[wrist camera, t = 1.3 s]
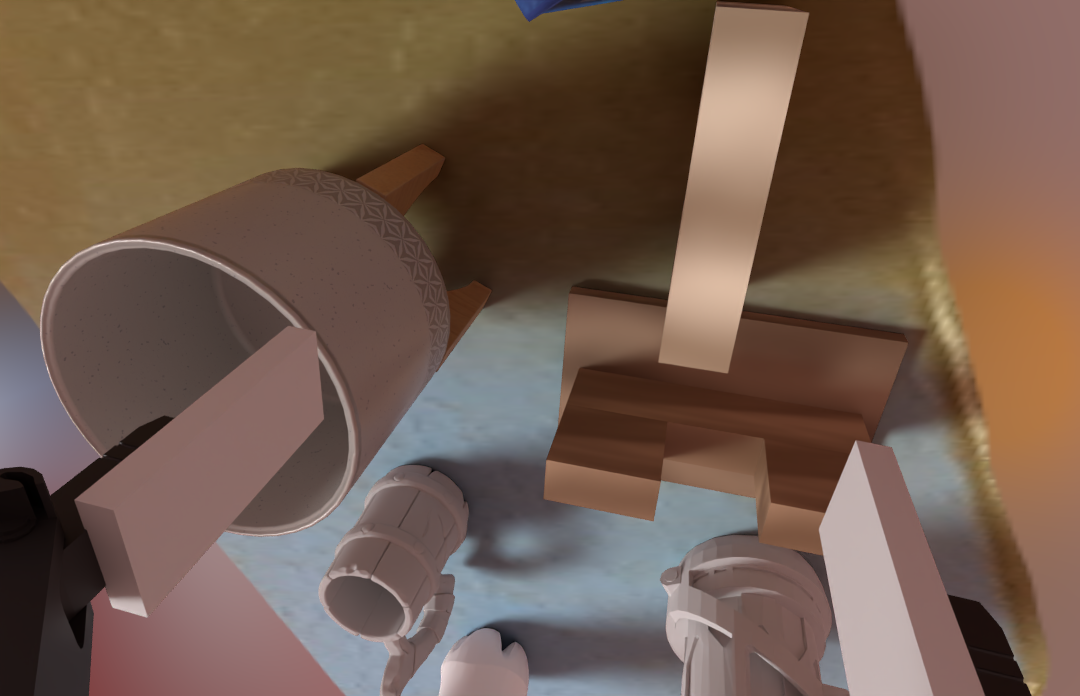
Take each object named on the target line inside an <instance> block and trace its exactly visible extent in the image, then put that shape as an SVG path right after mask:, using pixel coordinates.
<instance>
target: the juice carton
mask: <svg viewBox="0 0 1080 696" xmlns="http://www.w3.org/2000/svg"><path fill="white" fill-rule="evenodd" d="M515 1H516V3H517V5H518V6H519V8H520V10H521V11H522V13H523V15H524V16H525V18H526V19H527V20H528V21H529V22H530V21H531V20H533V19H534V18H536V17H537V16H539V15H541V14H543V13H549V12H555V11H561V10H567V9H573V8H579V7H585V6H591V5H597V4H603V3H609V2H615V1H621V0H515Z"/></svg>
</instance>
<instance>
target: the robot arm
mask: <svg viewBox="0 0 1080 696" xmlns="http://www.w3.org/2000/svg"><path fill="white" fill-rule="evenodd" d="M323 420H324V414H323V403H322V392H321V381H320V371H319V360H318V349H317V338H316V331H312V330H307V329H302V328H297V327H292V326H287V327H286V328H285V329H284V330H282V331H281V332H280V333H279V334H278V335H276V336H275V337H274V338H273V339H271V340H270V341H269V342H268V343H266V344H265V345H264V346H263V347H262V348H260V349H259V350H258V351H257V352H255V353H254V354H253V355H252V356H251V357H249V358H248V359H247V360H246V361H244V362H243V363H242V364H241V365H239V366H238V367H237V368H236V369H235V370H233V371H232V372H231V373H230V374H228V375H227V376H226V377H225V378H224V379H222V380H221V381H220V382H219V383H217V384H216V385H215V386H214V387H212V388H211V389H210V390H209V391H208V392H206V393H205V394H204V395H203V396H201V397H200V398H199V399H198V400H196V401H195V402H194V403H193V404H192V405H190V406H189V407H188V408H187V409H185V410H184V411H183V412H182V413H181V414H179V415H178V416H177V417H176V418H173V417H169V416H162V417H160V418H157V419H155V420H153V421H151V422H148V423H146V424H144V425H142V426H140V427H138V428H137V429H135V430H134V431H133V432H131V433H130V434H129V435H128V436H126V437H125V438H124V439H122V440H121V441H120V442H119V445H118V446H116V445H115V446H113V447H112V448H111V449H110V450H108V451H107V452H106V453H105V454H103V457H102V458H98V459H97V460H96V461H94V462H93V463H92V464H90V465H89V466H88V467H87V468H85V469H84V470H83V471H81V472H80V473H79V474H78V475H76V476H75V477H74V478H73V479H71V480H70V481H69V482H67V483H66V484H65V485H64V486H62V487H61V488H60V489H59V490H57V491H56V492H54V493H53V494H52V495H51V496H50V494H49V491H48V489H47V486H46V483H45V481H44V478H43V476H42V474H41V473H39V472H37V471H36V470H34V469H31V468H25V467H13V468H4V469H0V696H89V682H90V666H91V649H92V633H93V616H94V613H93V609H92V605H91V602H90V601H91V600H92V599H93V598H94V597H95V596H96V595H97V594H98V593H99V592H100V591H101V590H102V589H103V588H104V587H105V588H106V590H107V594H108V596H109V599H110V602H111V605H112V607H113V608H116V609H119V610H123V611H127V612H130V613H133V614H137V615H141V616H144V617H149V616H150V614H151V613H152V612H153V611H154V610H155V609H156V608H157V607H158V605H159V604H160V603H161V602H162V601H163V600H164V599H165V598H166V596H167V595H168V594H169V593H170V592H171V591H172V590H173V589H174V587H175V586H176V585H177V584H178V583H179V582H180V581H181V580H182V578H183V577H184V576H185V575H186V574H187V573H188V572H189V570H190V569H191V568H192V567H193V566H194V565H195V564H196V563H197V562H198V560H199V559H200V558H201V557H202V556H203V555H204V554H205V552H206V551H207V550H208V549H209V548H210V547H211V546H212V544H214V542H215V541H216V540H217V539H218V538H219V537H220V536H221V534H222V533H223V532H224V531H225V530H226V529H227V528H228V527H229V525H230V524H231V523H232V522H233V521H234V520H235V519H236V518H237V516H238V515H239V514H240V513H241V512H242V511H243V510H244V509H245V507H246V506H247V505H248V504H249V503H250V502H251V501H252V500H253V498H254V497H255V496H256V495H257V494H258V493H259V492H260V491H261V489H262V488H263V487H264V486H265V485H266V484H267V483H268V482H269V480H270V479H271V478H272V477H273V476H274V475H275V474H276V473H277V471H278V470H279V469H280V468H281V467H282V466H283V465H284V464H285V462H286V461H287V460H288V459H289V458H290V457H291V456H292V455H293V453H294V452H295V451H296V450H297V449H298V448H299V447H300V445H301V444H302V443H303V442H304V441H305V440H306V439H307V438H308V436H309V435H310V434H311V433H312V432H313V431H314V430H315V429H316V427H317V426H318V425H319V424H320V423H321V422H322V421H323ZM819 533H820V539H821V544H822V549H823V555H824V560H825V565H826V571H827V576H828V581H829V587H830V592H831V597H832V603H833V608H834V613H835V619H836V624H837V630H838V635H839V640H840V646H841V651H842V656H843V662H844V667H845V672H846V678H847V683H848V688H849V694H850V696H1031V693H1030V691H1029V689H1028V687H1027V684H1024V683H1023V679H1024V678H1023V675H1022V673H1021V671H1020V668H1019V666H1018V664H1017V662H1016V661H1014V659H1013V657H1014V655H1013V653H1012V650H1011V648H1010V646H1009V643H1008V641H1007V639H1006V637H1005V634H1004V632H1003V630H1002V628H1001V627H1000V626H999V625H998V623H997V622H996V621H995V620H994V619H993V617H992V616H991V615H990V614H989V613H988V612H987V610H986V609H985V608H984V607H983V606H982V605H981V603H980V602H977V601H973V600H968V599H964V598H960V597H955V596H951V595H947V593H946V590H945V588H944V585H943V582H942V580H941V577H940V574H939V572H938V569H937V566H936V564H935V561H934V558H933V556H932V553H931V550H930V548H929V545H928V542H927V540H926V537H925V534H924V532H923V529H922V526H921V524H920V521H919V518H918V516H917V513H916V510H915V508H914V505H913V502H912V500H911V497H910V494H909V492H908V489H907V486H906V484H905V481H904V479H903V476H902V473H901V471H900V468H899V465H898V463H897V460H896V457H895V455H894V452H893V449H892V447H888V446H883V445H878V444H873V443H868V442H863V441H858V440H856V441H855V443H854V446H853V448H852V450H851V453H850V455H849V458H848V460H847V462H846V465H845V467H844V470H843V472H842V474H841V477H840V479H839V482H838V484H837V486H836V489H835V491H834V494H833V496H832V498H831V501H830V503H829V506H828V508H827V511H826V513H825V515H824V518H823V520H822V523H821V525H820V527H819Z"/></svg>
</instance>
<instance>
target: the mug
mask: <svg viewBox="0 0 1080 696" xmlns="http://www.w3.org/2000/svg"><path fill="white" fill-rule="evenodd" d="M468 516H469V509H468V503H467V501H464V499H463V493H462V491H461V490H460V489H459V487H458V486H456V484H455V483H454V482H453V481H452V480H451V479H450V478H448V477H447V476H446V475H444V474H442V473H440V472H438V471H434V472H432V473H431V468H429V467H426V466H421V465H404V466H400V467H397V468H395V469H393V470H391V471H390V472H389V473H387V475H386V476H385V477H383V478H381V479H380V480H378V481H377V482H376V483H375V484H374V486H373V487H372V488H371V490H370V492H369V493H368V495H367V497H366V499H365V509H364V511H363V513H362V514H361V516H360V518H359V519H358V521H357V522H356V524H355V526H354V527H353V528H352V529H351V530H350V531H348V532H347V533H346V534H345V536H344V537H343V538H342V540H341V541H340V543H339V544H338V545H337V547H336V550H335V559H334V561H333V562H332V564H331V565H330V567H329V569H328V570H327V572H326V574H325V575H324V577H323V579H322V581H321V583H320V586H319V598H320V601H321V603H322V605H323V606H324V610H325V611H326V613H327V614H328V615H329V616H330V617H331V618H332V619H333V620H334V621H335V622H336V623H337V624H338V625H340V626H341V627H342V628H343V629H345V630H346V631H348V632H350V633H351V634H353V635H355V636H357V635H359V634H360V635H361V638H363V639H365V640H369V641H374V642H384V645H385V647H386V648H387V650H388V651H389V659H388V662H387V665H386V668H385V671H384V675H383V679H382V683H381V688H380V696H400V695H401V693H402V691H403V689H404V687H405V686H406V684H407V683H408V681H409V679H411V678H412V677H413V675H414V674H415V672H416V671H417V670H418V668H419V667H420V666H421V665H422V663H423V662H424V661H425V660H426V659H427V657H428V655H429V654H430V653H431V652H432V650H433V649H434V647H435V645H436V644H437V643H439V642H440V641H441V639H442V637H443V635H444V632H445V629H446V627H447V624H448V620H449V616H450V615H451V611H452V608H453V604H454V599H455V596H454V595H453V590H454V584H455V578H454V576H453V575H452V574H444V575H442V574H441V571H442V569H443V567H444V566H445V564H446V562H447V560H448V558H449V556H450V555H452V554H453V553H454V552H456V550H457V549H458V548H459V547H460V545H461V544H462V543H463V541H464V540H465V537H466V532H467V520H468ZM423 606H424V610H423V611H424V617H423V619H422V620H421V622H420V625H419V627H418V629H417V634H415V635H414V636H413V637H412V638H409V639H407V638H406V636H405V635H406V634H407V633H408V632H409V631H410V630H411V628H412V626H413V624H414V623H415V621H416V619H417V618H418V616H419V614H420V612H421V610H422V608H423Z"/></svg>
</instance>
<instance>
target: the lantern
mask: <svg viewBox="0 0 1080 696" xmlns="http://www.w3.org/2000/svg"><path fill="white" fill-rule="evenodd" d="M660 581H661V583H662V585H663V586H664V588H665V590H666V592H667V593H668V595H669V596H668V606H667V618H666V633H667V638H668V641H669V643H670V645H671V647H672V649H673V651H674V652H675V653H676V655H677V656H678V657H679V659H680V660H681V661H682V662H684V669H683V676H682V689H681V696H850V694H849V691H847V690H846V689H842V688H838V687H834V686H830V685H826V684H822V682H821V675H820V669H819V661H820V660H821V658H822V657H823V655H824V651H825V647H826V643H825V640H826V639H827V637H828V635H829V632H830V629H831V625H832V616H831V609H830V606H829V603H828V600H827V598H826V595H825V592H824V589H823V586H822V584H821V582H820V580H819V578H818V576H817V575H816V573H815V571H814V569H813V568H812V567H811V566H810V565H809V564H808V562H807V561H806V560H805V559H804V558H803V557H802V556H801V555H800V554H799V553H797V552H796V551H794V550H792V549H788V548H783V547H778V546H773V545H768V544H763V543H759V536H756V535H728V536H722V537H716V538H712V539H710V540H708V541H706V542H704V543H702V544H700V545H697V546H695V547H694V548H693V549H692V550H691V551H689V552H688V553H687V554H686V555H685V557H684V558H683V559H682V561H681V562H680V564H679V566H677V567H673V568H669V569H667V570H666V571H664V572H663V573H662V575H661V578H660Z"/></svg>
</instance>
